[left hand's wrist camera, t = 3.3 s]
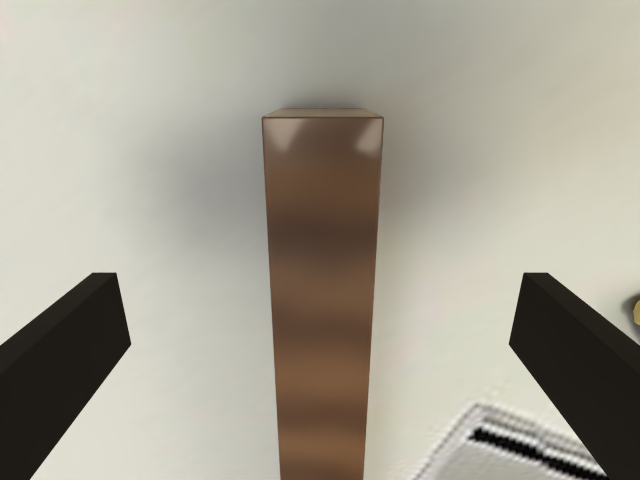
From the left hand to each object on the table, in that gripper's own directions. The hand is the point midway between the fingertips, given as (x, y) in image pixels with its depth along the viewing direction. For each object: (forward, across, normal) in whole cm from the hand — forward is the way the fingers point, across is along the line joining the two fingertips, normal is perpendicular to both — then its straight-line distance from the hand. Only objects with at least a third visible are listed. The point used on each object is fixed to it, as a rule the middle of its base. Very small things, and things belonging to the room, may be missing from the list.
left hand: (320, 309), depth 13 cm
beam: (+13, 0, -32) cm, 35 cm away
